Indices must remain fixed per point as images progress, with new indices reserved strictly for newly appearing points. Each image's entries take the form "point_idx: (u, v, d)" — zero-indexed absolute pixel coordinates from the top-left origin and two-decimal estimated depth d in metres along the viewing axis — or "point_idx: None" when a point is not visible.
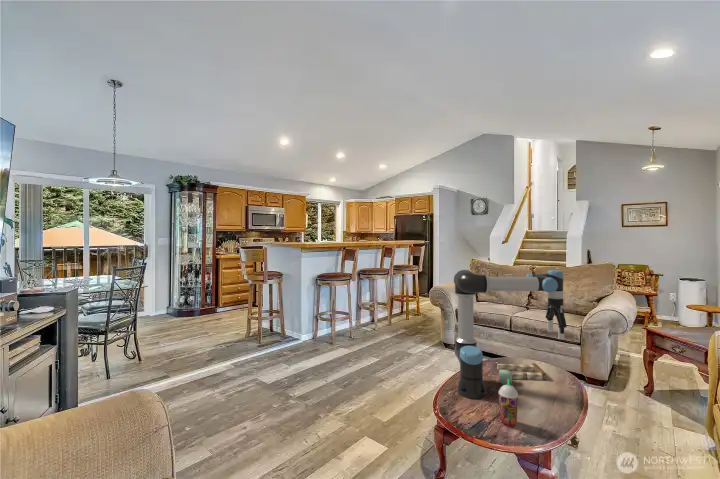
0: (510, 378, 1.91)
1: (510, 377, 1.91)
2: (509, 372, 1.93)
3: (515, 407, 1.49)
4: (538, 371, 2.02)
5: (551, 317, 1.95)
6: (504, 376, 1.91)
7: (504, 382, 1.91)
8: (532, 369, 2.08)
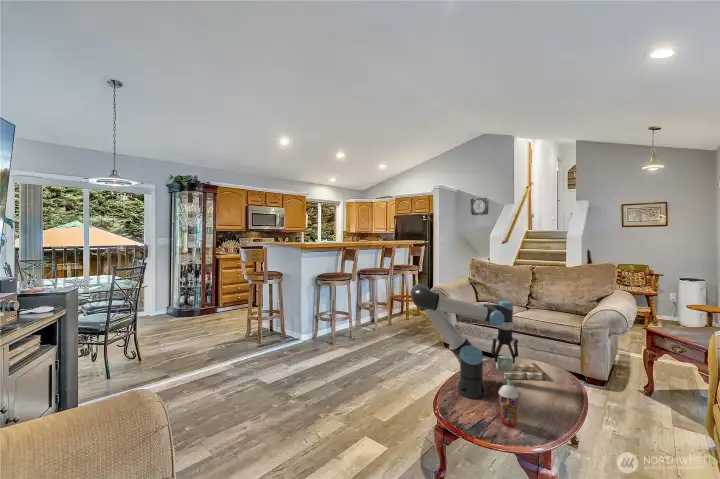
0: (509, 364, 1.91)
1: (509, 363, 1.91)
2: (508, 358, 1.93)
3: (515, 407, 1.49)
4: (538, 371, 2.02)
5: (510, 352, 1.93)
6: (503, 362, 1.91)
7: (503, 368, 1.91)
8: (532, 369, 2.08)
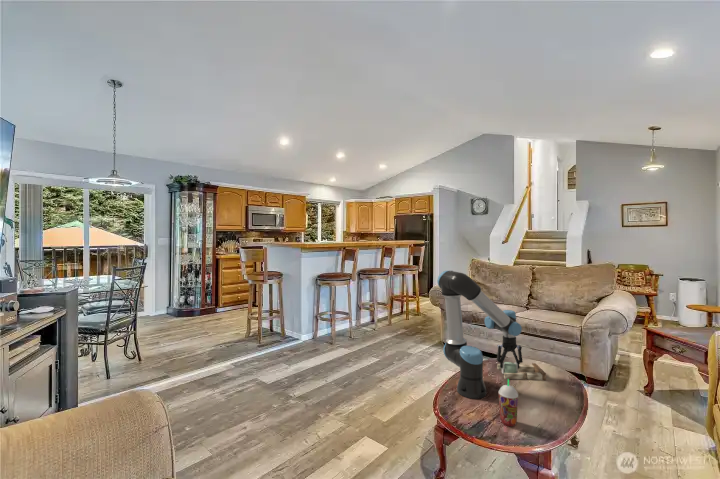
0: (514, 369, 2.02)
1: (514, 369, 2.02)
2: (513, 364, 2.05)
3: (515, 407, 1.49)
4: (538, 371, 2.02)
5: (515, 358, 2.05)
6: (509, 367, 2.02)
7: None
8: (532, 369, 2.08)
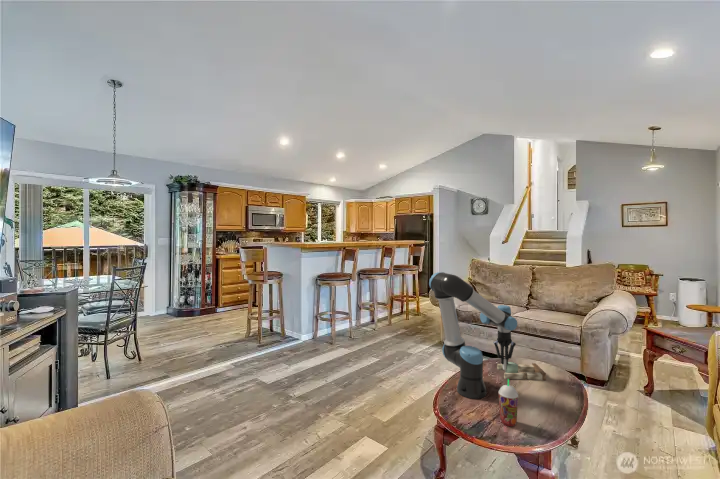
0: (516, 369, 2.02)
1: (516, 369, 2.02)
2: (515, 364, 2.04)
3: (515, 407, 1.49)
4: (538, 371, 2.02)
5: (505, 353, 2.05)
6: (510, 367, 2.02)
7: None
8: (532, 369, 2.08)
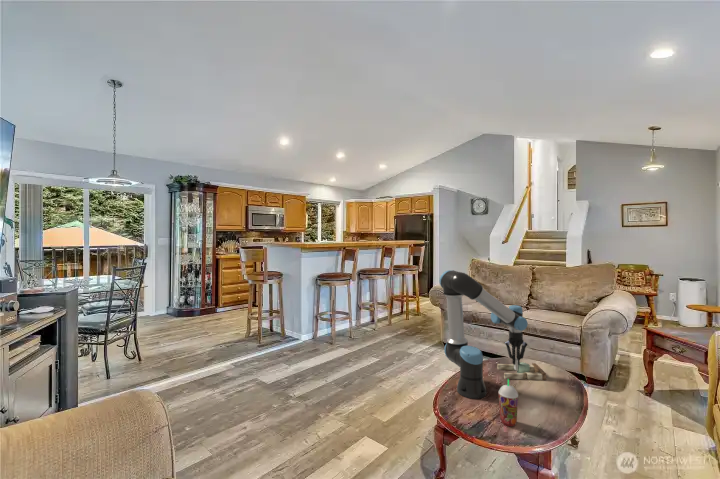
0: (527, 370, 2.01)
1: (528, 369, 2.01)
2: (527, 365, 2.04)
3: (515, 407, 1.49)
4: (538, 371, 2.02)
5: (517, 354, 2.05)
6: (522, 368, 2.01)
7: None
8: (532, 369, 2.08)
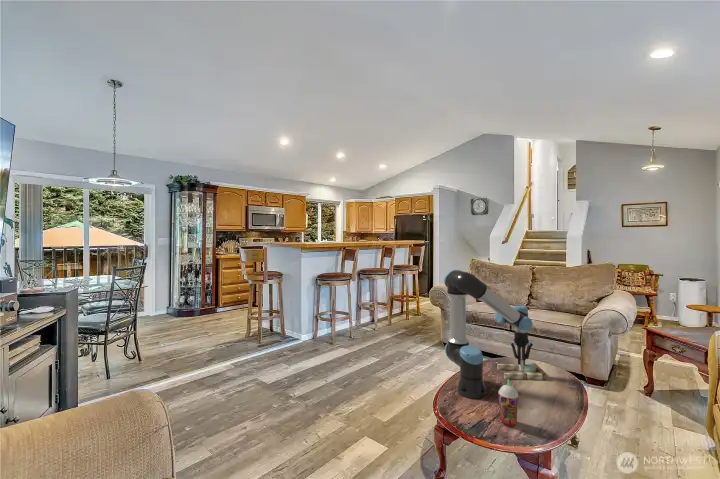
0: (533, 370, 2.01)
1: (533, 369, 2.01)
2: (532, 365, 2.03)
3: (515, 407, 1.49)
4: (538, 371, 2.02)
5: (522, 354, 2.04)
6: (528, 368, 2.01)
7: None
8: None
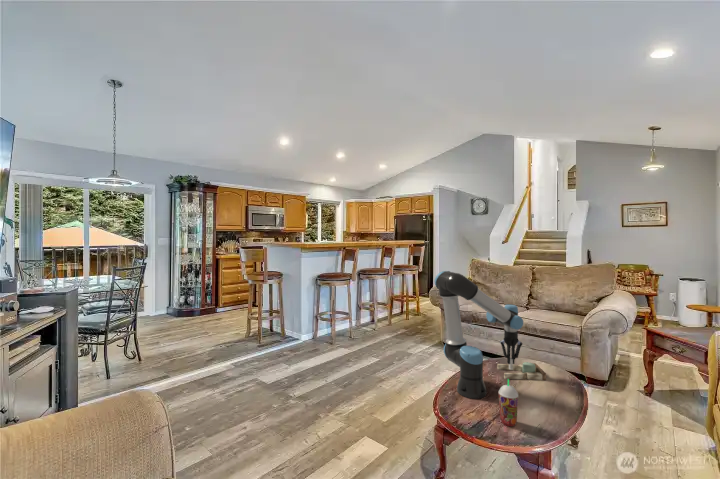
0: (533, 370, 2.01)
1: (533, 370, 2.01)
2: (532, 365, 2.03)
3: (515, 407, 1.49)
4: (538, 371, 2.02)
5: (512, 353, 2.05)
6: (528, 368, 2.01)
7: None
8: None
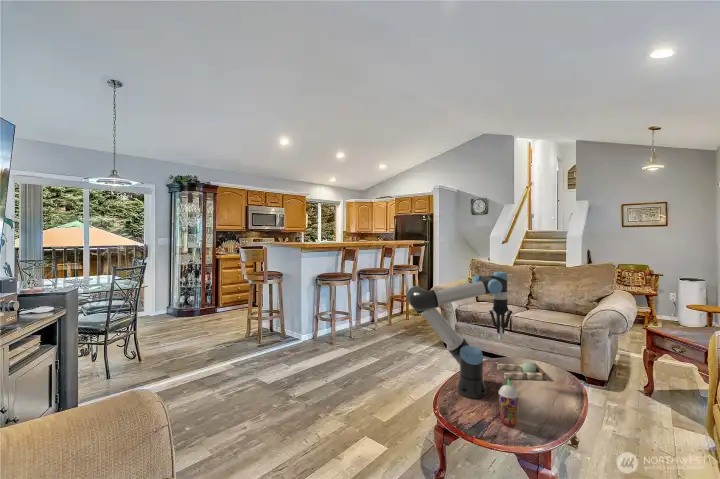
0: (532, 370, 2.00)
1: (533, 370, 2.00)
2: (533, 365, 2.02)
3: (515, 407, 1.49)
4: (538, 371, 2.02)
5: (501, 322, 1.95)
6: (527, 368, 2.01)
7: None
8: None
